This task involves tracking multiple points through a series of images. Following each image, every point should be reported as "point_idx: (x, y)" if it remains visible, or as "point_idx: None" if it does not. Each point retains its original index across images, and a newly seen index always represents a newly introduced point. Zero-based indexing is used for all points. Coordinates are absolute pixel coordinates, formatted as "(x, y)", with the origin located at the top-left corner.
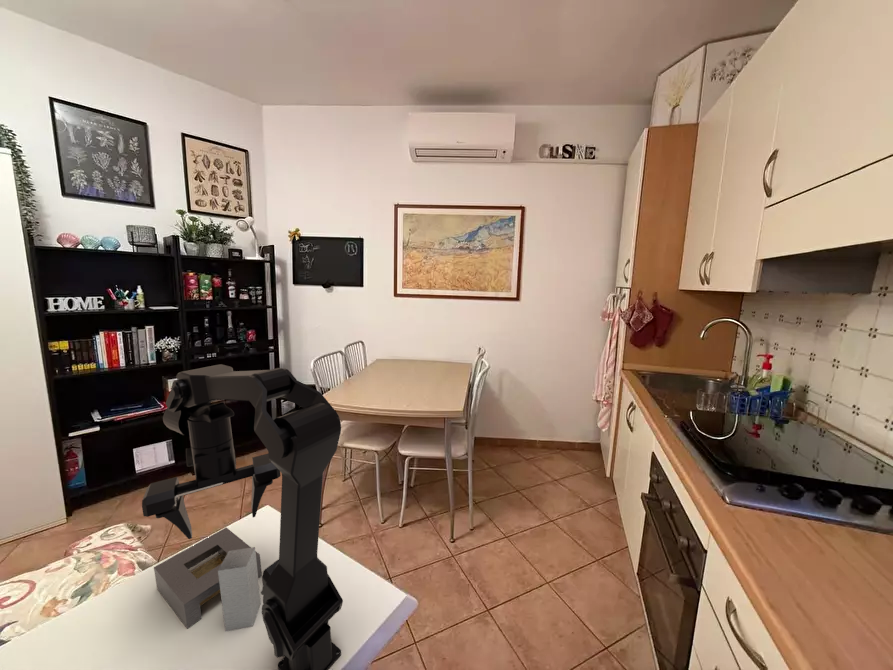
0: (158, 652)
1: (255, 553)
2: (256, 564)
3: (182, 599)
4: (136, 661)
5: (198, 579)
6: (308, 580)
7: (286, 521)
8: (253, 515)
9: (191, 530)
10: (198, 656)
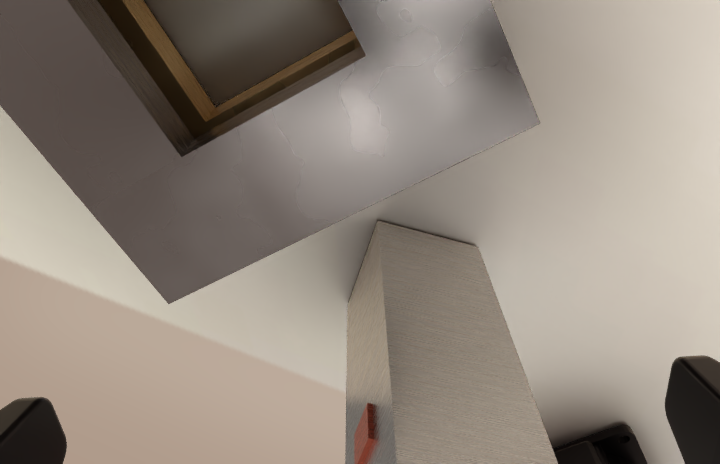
0: (126, 276)
1: (554, 458)
2: (530, 400)
3: (149, 270)
4: (61, 277)
5: (191, 164)
6: None
7: None
8: (688, 449)
9: (19, 454)
10: (270, 346)
